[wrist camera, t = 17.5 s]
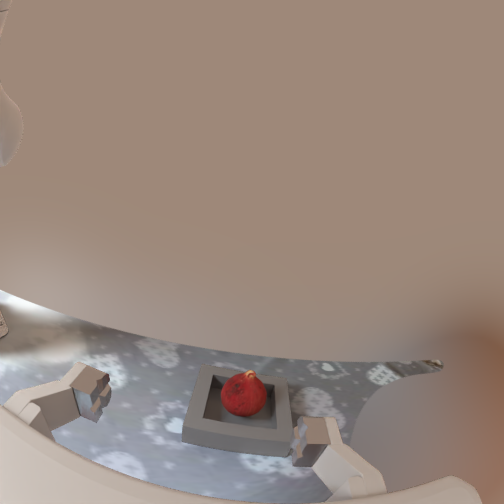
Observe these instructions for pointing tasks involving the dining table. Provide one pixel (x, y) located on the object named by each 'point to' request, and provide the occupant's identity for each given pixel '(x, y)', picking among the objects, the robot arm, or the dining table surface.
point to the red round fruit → (243, 394)
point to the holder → (238, 417)
